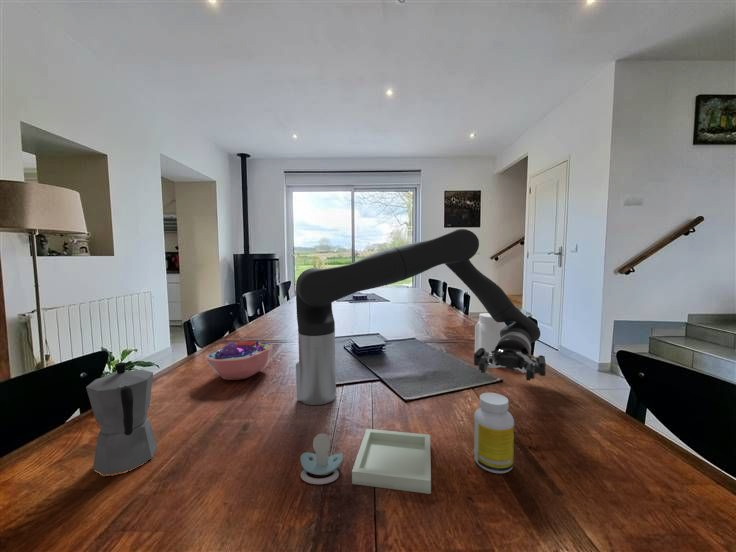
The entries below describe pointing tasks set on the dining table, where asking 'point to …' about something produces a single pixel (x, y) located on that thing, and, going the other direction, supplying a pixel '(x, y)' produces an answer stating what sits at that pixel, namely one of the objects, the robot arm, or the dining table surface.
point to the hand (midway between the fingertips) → (504, 372)
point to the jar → (487, 333)
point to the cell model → (239, 359)
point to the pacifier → (320, 461)
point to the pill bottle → (494, 434)
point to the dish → (394, 461)
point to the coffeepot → (122, 419)
